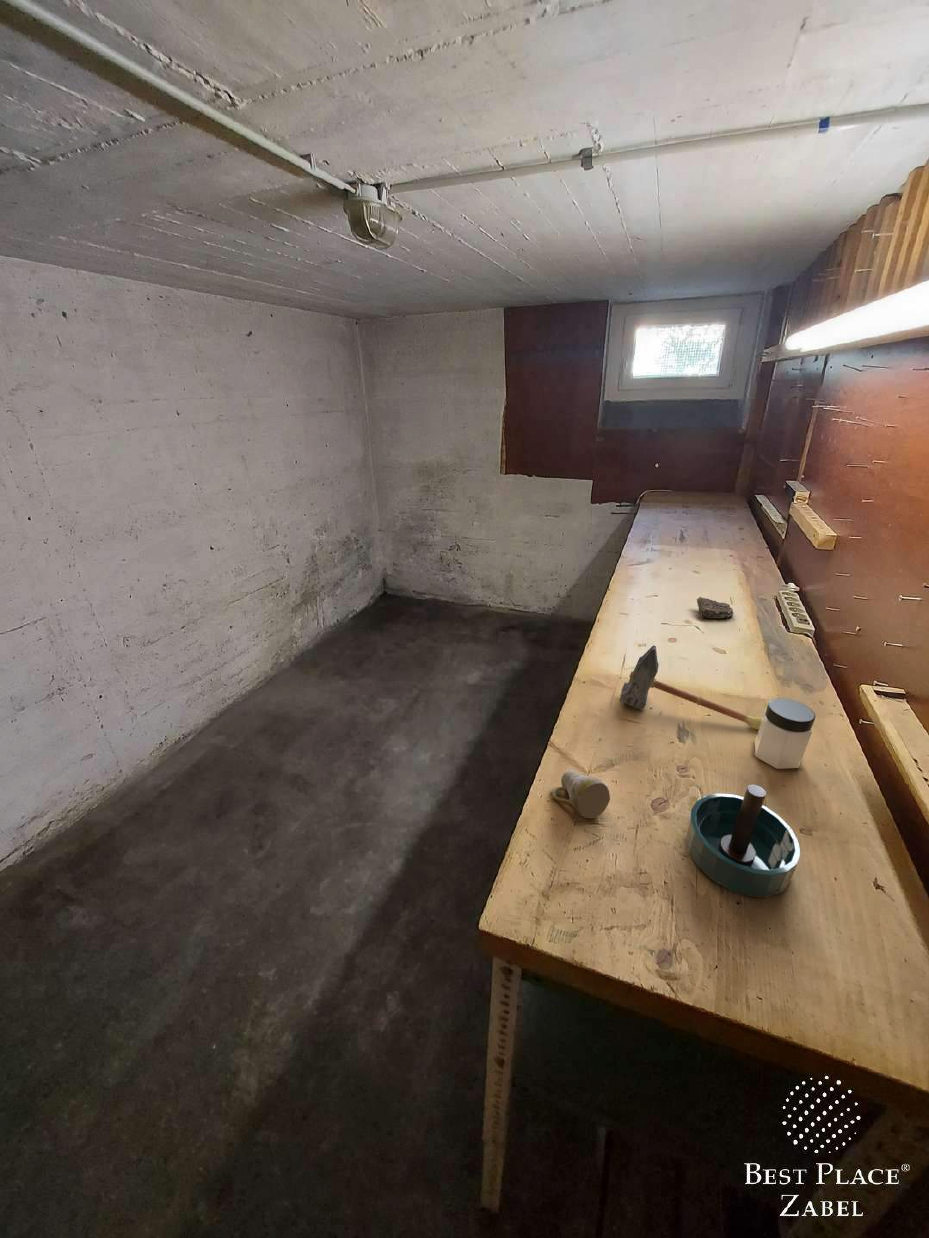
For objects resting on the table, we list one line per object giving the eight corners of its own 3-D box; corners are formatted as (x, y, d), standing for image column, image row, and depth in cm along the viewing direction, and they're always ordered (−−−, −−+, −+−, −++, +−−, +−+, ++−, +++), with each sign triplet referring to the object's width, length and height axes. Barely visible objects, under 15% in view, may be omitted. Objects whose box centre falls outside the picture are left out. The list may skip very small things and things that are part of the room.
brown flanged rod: (732, 834, 83) (751, 773, 77) (761, 857, 79) (783, 795, 73) (712, 847, 81) (730, 785, 75) (740, 871, 77) (762, 808, 71)
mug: (577, 775, 98) (603, 755, 91) (593, 825, 92) (622, 807, 85) (545, 777, 95) (570, 756, 88) (559, 828, 90) (586, 810, 82)
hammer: (783, 701, 102) (642, 649, 110) (747, 753, 110) (618, 701, 118) (779, 686, 106) (644, 638, 114) (745, 737, 115) (621, 689, 123)
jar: (808, 760, 100) (826, 713, 95) (787, 776, 96) (805, 728, 91) (765, 736, 107) (779, 691, 102) (744, 750, 103) (757, 704, 98)
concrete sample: (694, 618, 160) (697, 604, 158) (694, 606, 168) (697, 593, 166) (733, 623, 156) (737, 609, 154) (731, 611, 164) (734, 597, 162)
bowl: (723, 805, 90) (730, 781, 87) (810, 871, 78) (821, 845, 75) (664, 840, 84) (670, 815, 81) (749, 918, 71) (759, 892, 69)
